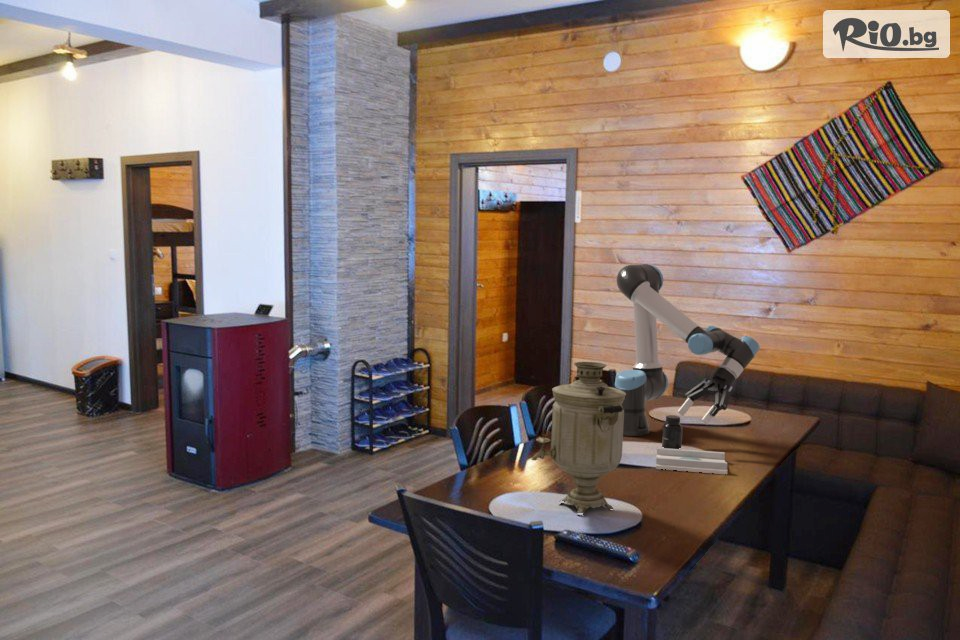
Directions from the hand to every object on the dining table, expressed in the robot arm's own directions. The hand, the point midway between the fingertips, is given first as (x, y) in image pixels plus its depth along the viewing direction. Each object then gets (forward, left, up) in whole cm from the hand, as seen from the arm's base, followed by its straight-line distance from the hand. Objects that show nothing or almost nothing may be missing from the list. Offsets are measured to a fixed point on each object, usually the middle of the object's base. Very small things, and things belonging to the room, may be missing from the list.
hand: (691, 417), depth 262 cm
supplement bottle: (-7, -3, -11) cm, 14 cm away
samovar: (-33, -69, -11) cm, 77 cm away
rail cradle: (-1, -20, -11) cm, 23 cm away
